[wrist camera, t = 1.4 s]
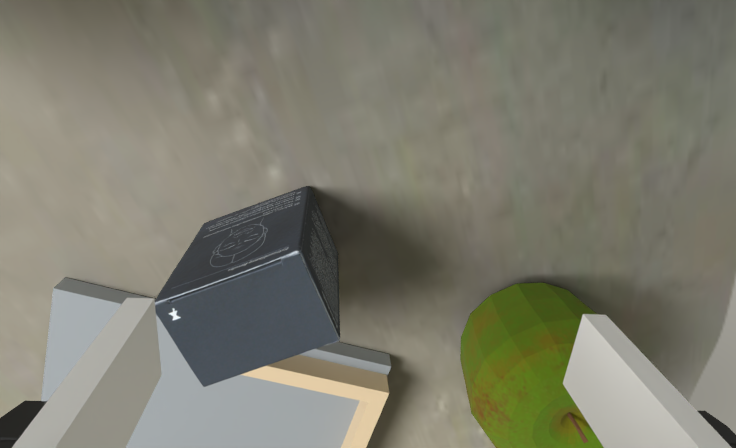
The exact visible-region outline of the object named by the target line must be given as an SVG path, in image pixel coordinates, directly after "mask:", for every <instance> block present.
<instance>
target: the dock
mask: <svg viewBox="0 0 736 448" xmlns="http://www.w3.org/2000/svg"><path fill="white" fill-rule="evenodd" d="M126 298H150V297H145V296H141V295H137V294H133V293H128V292H124V291H120V290H116V289H112V288H107V287H103V286H99V285H95V284H90V283H86V282H82V281H78V280H74V279H69V278H64V279H63V280H62V281H61V282H60V283H59V284H57V285H56V286H55V287H54V288H53V296H52V305H51V315H50V324H49V333H48V342H47V351H46V360H45V370H44V379H43V388H42V397H41V401H48V400H49V398H50V397H51V396H52V395H53V393H54V392H55V391H56V389H57V388H58V387H59V385H60V384H61V383H62V382H63V380H64V379H65V378H66V376H67V375H68V374H69V372H70V371H71V370H72V369H73V367H74V366H75V365H76V363H77V362H78V361H79V359H80V358H81V357H82V355H83V354H84V353H85V352H86V350H87V349H88V348H89V346H90V345H91V344H92V342H93V341H94V340H95V339H96V337H97V336H98V335H99V333H100V332H101V331H102V329H103V328H104V327H105V326H106V324H107V323H108V322H109V320H110V319H111V318H112V316H113V315H114V314H115V313H116V311H117V310H118V309H119V307H120V306H121V305H122V303H123V302H124V301H125V299H126ZM153 299H154V298H153ZM155 300H156V299H154V301H155ZM156 321H157V332H158V342H159V352H160V363H161V373H162V375H161V377H160V379H159V381H158V383H157V385H156V387H155V389H154V391H153V393H152V395H151V397H150V399H149V401H148V403H147V405H146V407H145V409H144V411H143V413H142V415H141V417H140V419H139V421H138V423H137V425H136V427H135V430H134V432H133V434H132V436H131V438H130V440H129V442H128V444H127V446H126V448H366V447H367V444H368V442H369V440H370V437H371V435H372V433H373V430H374V428H375V426H376V423H377V421H378V419H379V416H380V414H381V412H382V409H383V407H384V405H385V402H386V400H387V398H388V395H389V387H388V381H387V376H388V373H389V371H390V369H391V362H390V355H389V354H386V353H382V352H378V351H373V350H369V349H365V348H361V347H357V346H352V345H348V344H344V343H340V342H334V343H331V344H328V345H325V346H322V347H319V348H316V349H314V350H311V351H308V352H305V353H302V354H299V355H296V356H293V357H290V358H287V359H284V360H281V361H279V362H276V363H273V364H270V365H267V366H264V367H261V368H258V369H255V370H252V371H249V372H247V373H244V374H241V375H238V376H235V377H232V378H229V379H226V380H223V381H220V382H218V383H215V384H212V385H209V386H206V387H203V386H202V384H201V383H200V382H199V380H198V379H197V377H196V376H195V374H194V373H193V371H192V370H191V368H190V367H189V365H188V364H187V362H186V360H185V359H184V357H183V355H182V354H181V352H180V351H179V349H178V348H177V346H176V344H175V343H174V341H173V340H172V338H171V336H170V335H169V333H168V332H167V330H166V328H165V327H164V325H163V324H162V322H161V321H160V319H159V318H158V316H157V315H156Z"/></svg>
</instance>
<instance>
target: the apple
mask: <svg viewBox="0 0 736 448" xmlns="http://www.w3.org/2000/svg"><path fill="white" fill-rule="evenodd" d="M583 314H597V313H595V312H594V311H593V310H591V309H590V308H589V307H587V306H586V305H585V304H584V303H582V302H581V301H580V300H579V299H578V298H576V297H575V296H574V295H573V294H572V293H571V292H569V291H568V290H566V289H563V288H559V287H556V286H553V285H550V284H547V283H520V284H515V285H512V286H510V287H508V288H506V289H503V290H501V291H499V292H497V293H494V294H492V295H490V296H489V297H488V298H487V299H486V300H485V301H484V302H483V303H482V304H481V305H479V306H478V307H477V308H476V309H475V310H474V311H473V312H472V313H471V314H470V316H469V319H468V321H467V324H466V326H465V329H464V331H463V334H462V336H461V364H462V369H463V374H464V379H465V383H466V388H467V393H468V398H469V403H470V408H471V413H472V415H473V416H474V417H475V419H476V420H477V422H478V423H479V424H480V426H481V427H482V429H483V430H484V432H485V433H486V434H487V436H488V437H489V439H490V440H491V441H492V443H493V444H494V446H495V447H496V448H604V447H603V446H602V444H601V442H600V441H599V439H598V438H597V436H596V435H595V433H594V432H593V430H592V428H591V427H590V425H589V424H588V422H587V421H586V419H585V418H584V416H583V414H582V413H581V411H580V410H579V408H578V407H577V405H576V404H575V402H574V400H573V399H572V397H571V396H570V394H569V393H568V391H567V390H566V388H565V386H564V385H563V381H564V377H565V374H566V370H567V367H568V363H569V360H570V357H571V353H572V350H573V346H574V343H575V340H576V336H577V333H578V329H579V326H580V322H581V319H582V316H583Z"/></svg>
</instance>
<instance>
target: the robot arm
mask: <svg viewBox="0 0 736 448" xmlns="http://www.w3.org/2000/svg"><path fill="white" fill-rule="evenodd" d="M161 375H162V373H161V363H160V352H159V342H158V332H157V321H156V311H155V301H154V299H153V298H126V299H125V301H124V302H123V303H122V305H121V306H120V307H119V309H118V310H117V311H116V313H115V314H114V315H113V316H112V318H111V319H110V320H109V322H108V323H107V324H106V326H105V327H104V328H103V329H102V331H101V332H100V333H99V335H98V336H97V337H96V339H95V340H94V341H93V342H92V344H91V345H90V346H89V348H88V349H87V350H86V352H85V353H84V354H83V355H82V357H81V358H80V359H79V361H78V362H77V363H76V365H75V366H74V367H73V369H72V370H71V371H70V372H69V374H68V375H67V376H66V378H65V379H64V380H63V382H62V383H61V384H60V385H59V387H58V388H57V389H56V391H55V392H54V393H53V395H52V396H51V397H50V398H49V400H48V401H24V402H23V403H21V404H20V405H18V406H17V407H15V408H14V409H13V410H11V411H10V412H8V413H7V414H5V415H4V416H3V417H1V418H0V448H126V446H127V444H128V442H129V440H130V438H131V436H132V434H133V432H134V430H135V427H136V425H137V423H138V421H139V419H140V417H141V415H142V413H143V411H144V409H145V407H146V405H147V403H148V401H149V399H150V397H151V395H152V393H153V391H154V389H155V387H156V385H157V383H158V381H159V379H160V377H161ZM563 385H564V386H565V388H566V390H567V391H568V393H569V394H570V396H571V397H572V399H573V400H574V402H575V404H576V405H577V407H578V408H579V410H580V411H581V413H582V414H583V416H584V418H585V419H586V421H587V422H588V424H589V425H590V427H591V428H592V430H593V432H594V433H595V435H596V436H597V438H598V439H599V441H600V442H601V444H602V446H603V447H604V448H736V435H735V434H734V433H733V432H732V431H731V430H730V429H729V428H728V427H727V426H726V425H724V424H723V423H722V422H720V421H719V420H717V419H716V418H714V417H713V416H712V415H710V414H709V413H707V412H706V411H697V410H696V409H695V408H694V407H693V406H692V405H691V404H690V403H689V402H688V401H687V400H686V399H685V398H684V397H683V396H682V395H681V393H680V392H679V391H678V390H677V389H676V388H675V387H674V386H673V385H672V384H671V383H670V382H669V381H668V380H667V379H666V378H665V377H664V376H663V374H662V373H661V372H660V371H659V370H658V369H657V368H656V367H655V366H654V365H653V364H652V363H651V362H650V361H649V360H648V359H647V358H646V357H645V355H644V354H643V353H642V352H641V351H640V350H639V349H638V348H637V347H636V346H635V345H634V344H633V343H632V342H631V341H630V340H629V339H628V338H627V337H626V335H625V334H624V333H623V332H622V331H621V330H620V329H619V328H618V327H617V326H616V325H615V324H614V323H613V322H612V321H611V320H610V319H609V318H608V316H607V315H598V314H583V316H582V319H581V322H580V326H579V329H578V333H577V336H576V340H575V343H574V346H573V350H572V353H571V357H570V360H569V363H568V367H567V370H566V374H565V377H564V381H563Z"/></svg>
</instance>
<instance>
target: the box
mask: <svg viewBox="0 0 736 448" xmlns="http://www.w3.org/2000/svg"><path fill="white" fill-rule="evenodd" d="M338 273H339V272H338V252H337V250H336V247H335V245H334V243H333V240H332V238H331V235H330V233H329V231H328V228H327V226H326V223H325V221H324V219H323V216H322V214H321V211H320V209H319V206H318V204H317V201H316V199H315V196H314V194H313V192H312V189H311V188H310V187H309V186H306V187H303V188H300V189H297V190H294V191H291V192H289V193H286V194H283V195H280V196H277V197H275V198H272V199H269V200H266V201H264V202H261V203H258V204H256V205H253V206H250V207H247V208H244V209H242V210H239V211H236V212H233V213H231V214H228V215H225V216H223V217H220V218H217V219H214V220H212V221H209V222H207V223H204V224H203V226H202V227H201V229H200V231H199V232H198V234H197V235H196V237H195V239H194V240H193V242H192V243H191V245H190V246H189V248H188V250H187V251H186V253H185V254H184V256H183V257H182V259H181V260H180V262H179V263H178V265H177V267H176V268H175V269H174V271H173V273H172V274H171V276H170V277H169V279H168V281H167V282H166V284H165V286H164V287H163V288H162V290H161V292H160V293H159V295H158V297H157V298H156V300H155V311H156V315H157V316H158V318H159V319H160V321H161V322H162V324H163V325H164V327H165V328H166V330H167V332H168V333H169V335H170V336H171V338H172V340H173V341H174V343H175V344H176V346H177V348H178V349H179V351H180V352H181V354H182V355H183V357H184V359H185V360H186V362H187V364H188V365H189V367H190V368H191V370H192V371H193V373H194V374H195V376H196V377H197V379H198V380H199V382H200V383H201V384H202V386H203V387H206V386H209V385H212V384H215V383H218V382H220V381H223V380H226V379H229V378H232V377H235V376H238V375H241V374H244V373H247V372H249V371H252V370H255V369H258V368H261V367H264V366H267V365H270V364H273V363H276V362H279V361H281V360H284V359H287V358H290V357H293V356H296V355H299V354H302V353H305V352H308V351H311V350H314V349H316V348H319V347H322V346H325V345H328V344H331V343H334V342H337V341H340V319H339V316H340V315H339V279H338V277H339V274H338Z"/></svg>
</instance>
